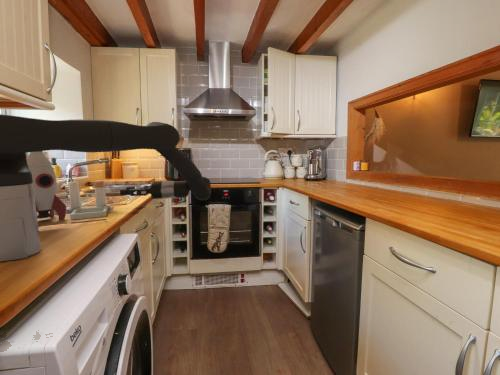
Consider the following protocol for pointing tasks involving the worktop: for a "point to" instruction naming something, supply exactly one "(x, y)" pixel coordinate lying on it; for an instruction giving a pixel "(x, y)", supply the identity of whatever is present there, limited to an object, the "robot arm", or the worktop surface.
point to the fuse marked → (100, 193)
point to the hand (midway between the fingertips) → (123, 191)
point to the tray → (89, 213)
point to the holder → (68, 210)
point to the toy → (45, 186)
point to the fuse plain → (74, 195)
